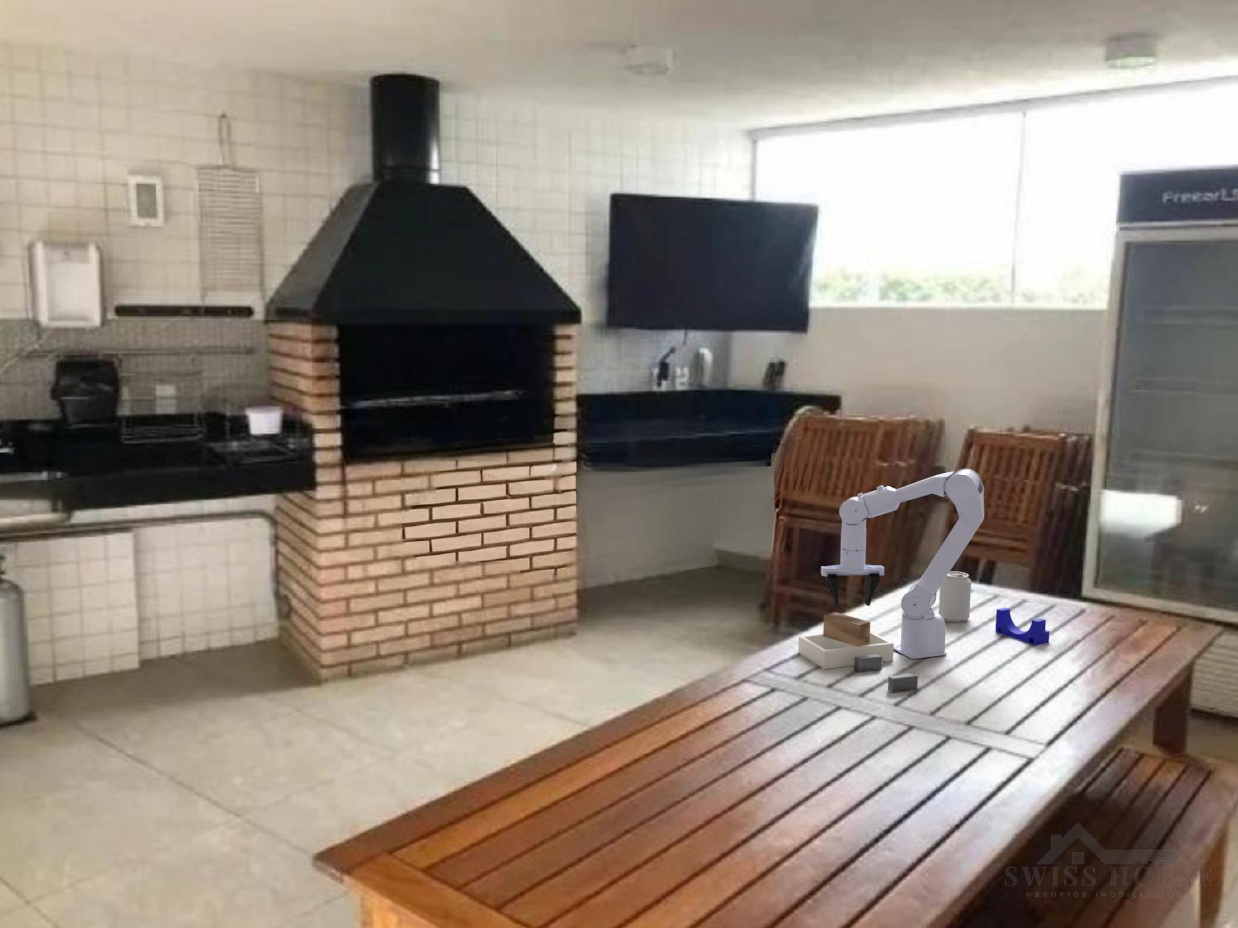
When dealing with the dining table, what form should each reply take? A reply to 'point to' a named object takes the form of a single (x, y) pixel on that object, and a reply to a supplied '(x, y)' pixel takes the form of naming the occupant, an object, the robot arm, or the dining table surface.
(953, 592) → the can
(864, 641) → the wooden block
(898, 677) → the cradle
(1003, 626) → the blue saddle bracket
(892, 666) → the dining table surface
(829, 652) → the bin
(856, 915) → the dining table surface
